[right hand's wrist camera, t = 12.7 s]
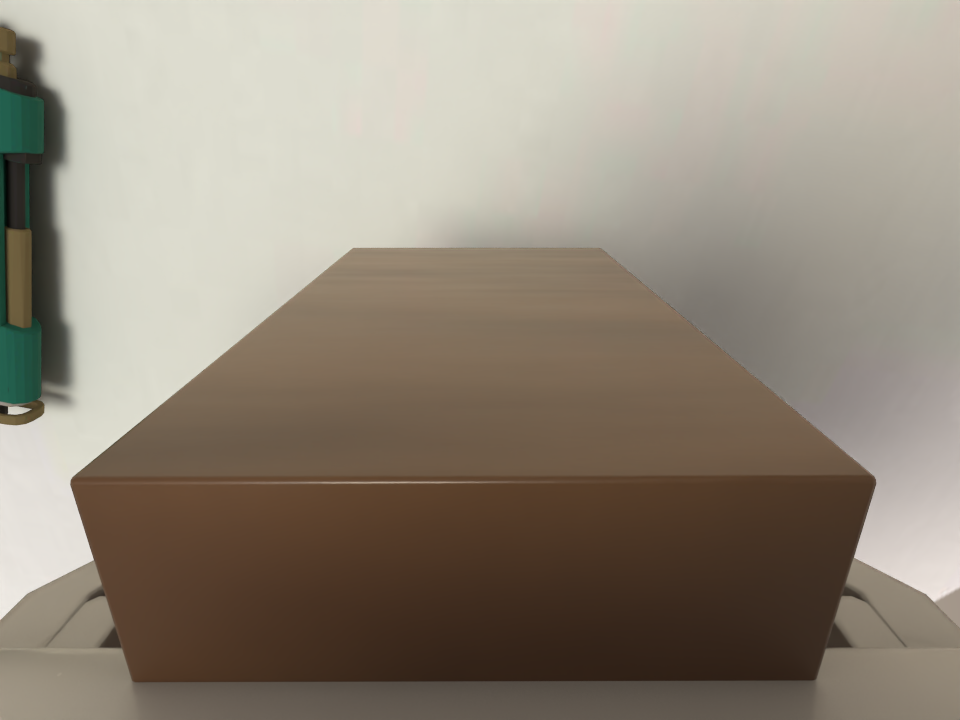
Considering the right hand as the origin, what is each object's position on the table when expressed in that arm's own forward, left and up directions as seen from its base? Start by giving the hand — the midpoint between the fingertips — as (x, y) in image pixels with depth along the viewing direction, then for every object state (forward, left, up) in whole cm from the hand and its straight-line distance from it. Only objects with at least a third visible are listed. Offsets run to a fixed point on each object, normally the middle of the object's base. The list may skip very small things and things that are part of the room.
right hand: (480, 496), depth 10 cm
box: (-2, +9, -5) cm, 10 cm away
